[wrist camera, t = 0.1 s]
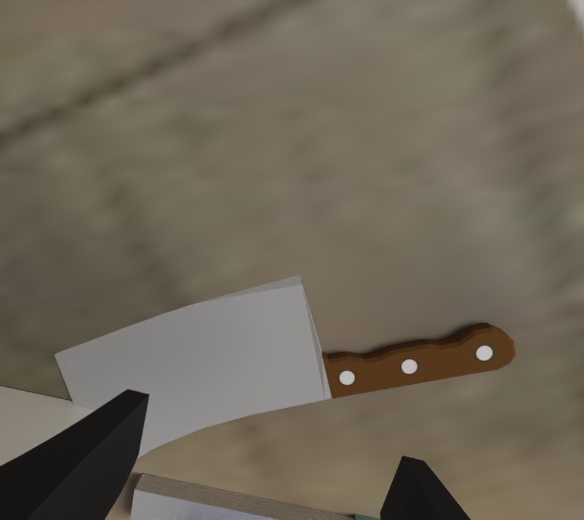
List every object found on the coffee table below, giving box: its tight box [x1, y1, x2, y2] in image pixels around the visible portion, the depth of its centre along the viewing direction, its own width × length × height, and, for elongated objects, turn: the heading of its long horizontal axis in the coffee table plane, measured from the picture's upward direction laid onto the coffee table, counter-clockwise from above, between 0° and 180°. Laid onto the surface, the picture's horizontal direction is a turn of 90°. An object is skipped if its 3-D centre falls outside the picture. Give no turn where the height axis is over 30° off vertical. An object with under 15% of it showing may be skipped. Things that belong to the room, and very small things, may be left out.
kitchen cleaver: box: [54, 275, 516, 459], centre depth 21 cm, size 24×1×10 cm
